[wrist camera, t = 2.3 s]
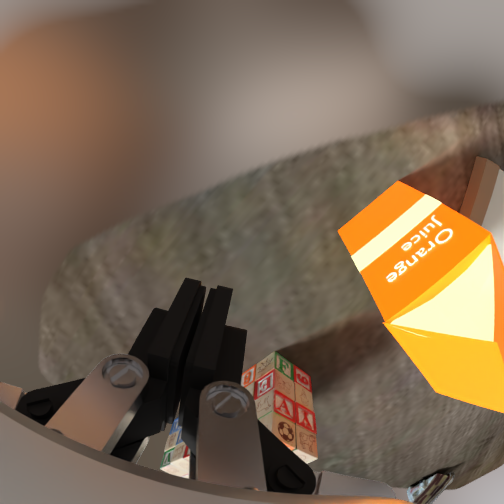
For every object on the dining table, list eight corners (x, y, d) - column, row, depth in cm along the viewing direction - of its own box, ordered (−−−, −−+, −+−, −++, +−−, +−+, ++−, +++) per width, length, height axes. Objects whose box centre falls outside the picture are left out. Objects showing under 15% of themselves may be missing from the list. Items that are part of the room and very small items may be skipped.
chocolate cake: (439, 466, 45) (410, 512, 41) (457, 473, 44) (430, 517, 40) (417, 459, 54) (392, 500, 50) (435, 466, 53) (411, 505, 49)
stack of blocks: (206, 437, 42) (192, 503, 31) (173, 419, 41) (152, 485, 30) (311, 375, 35) (319, 460, 24) (275, 348, 34) (272, 438, 23)
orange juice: (398, 179, 26) (559, 276, 7) (440, 247, 28) (563, 374, 9) (335, 231, 28) (414, 401, 10) (384, 293, 30) (462, 455, 12)
